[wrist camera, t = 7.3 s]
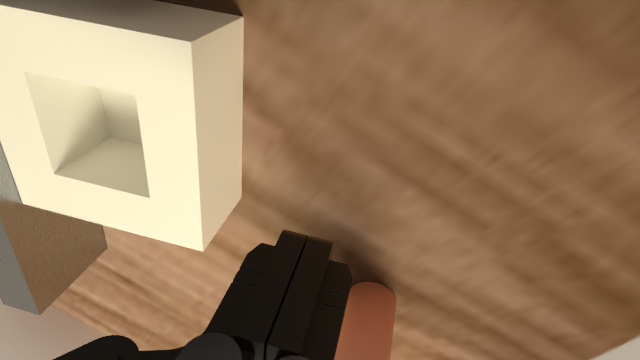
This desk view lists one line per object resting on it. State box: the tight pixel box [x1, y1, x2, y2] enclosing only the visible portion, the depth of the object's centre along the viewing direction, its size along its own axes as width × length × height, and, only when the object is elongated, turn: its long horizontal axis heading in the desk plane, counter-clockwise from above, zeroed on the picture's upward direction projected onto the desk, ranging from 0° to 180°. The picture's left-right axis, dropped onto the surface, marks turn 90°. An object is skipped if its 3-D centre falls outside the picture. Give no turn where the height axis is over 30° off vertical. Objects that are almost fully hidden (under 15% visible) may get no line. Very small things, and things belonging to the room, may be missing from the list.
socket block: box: [0, 0, 244, 252], centre depth 20 cm, size 10×10×5 cm
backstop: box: [0, 142, 107, 315], centre depth 21 cm, size 22×2×6 cm, turn 172°
